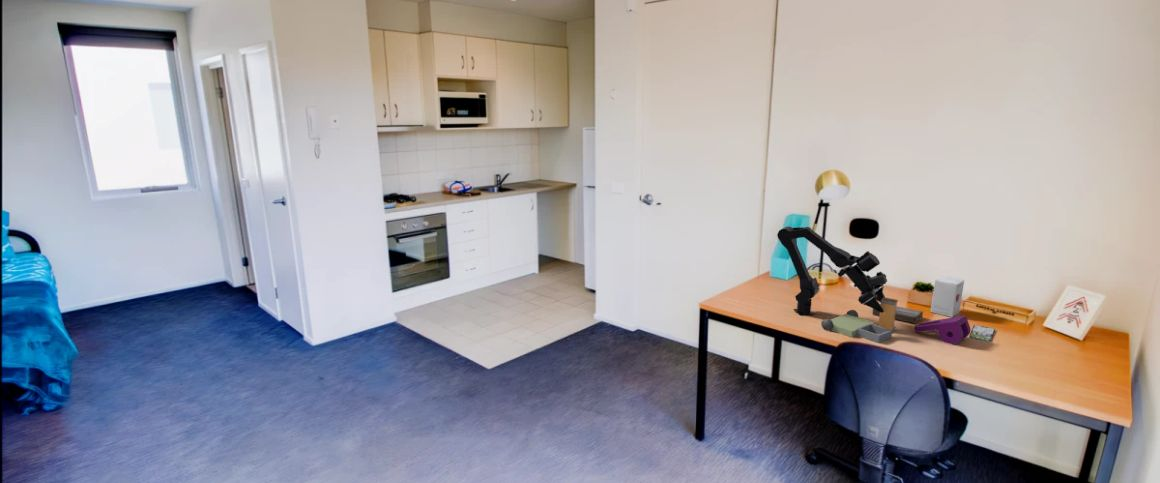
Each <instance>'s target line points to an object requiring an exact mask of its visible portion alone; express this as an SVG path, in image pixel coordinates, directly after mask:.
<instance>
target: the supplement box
mask: <svg viewBox="0 0 1160 483" xmlns="http://www.w3.org/2000/svg"><path fill="white" fill-rule="evenodd" d="M964 285H965V280H964V279H960V278H955V277H950V276H945V275H942V276H940V277H938V278H937V279H935V280H934V287H933V293H932V300H931V306H930V313H934V314H937V315H941V316H945V317H948V318H953V317H956V315H958V314H959V313H960V310H961V304H962V298H963V291H964Z"/></svg>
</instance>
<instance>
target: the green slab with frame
mask: <svg viewBox="0 0 1160 483" xmlns="http://www.w3.org/2000/svg"><path fill="white" fill-rule="evenodd" d="M820 324H821V328H822V329H823V330H824V331H831V332H835V333H837V334H841V335H843V336H846V337H848V338H853V337H856V336H857V337H860V338H863V339H866V340H868V341H870V342H875V343H877V344H879V343H882V342H884V341H886V340H889V339H891V338H892V334H893V333H892V330H889V329H886V328H883V327H880V326H878V325H877V324H876V322H874V321H871V320H869V319H865V318H861V317H859V313H858V312H857V310H855V309H851V310H850V309H849V310H848V311H846V313H845V314H842V315H840V316H837V317H834V318H831V319H830V318H825V319H822V320H821V322H820Z"/></svg>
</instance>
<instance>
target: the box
mask: <svg viewBox="0 0 1160 483" xmlns="http://www.w3.org/2000/svg"><path fill="white" fill-rule="evenodd" d="M879 304H880V305H881V303H879ZM923 313H924V312H923V311H922V310H919V309H918V310H917V309H912V308H907V307H901V306H897V307H896V314H895V320H898V321H903V322H909V323H914V324H918V322H919V321H920V320H922V319H923ZM872 315H873V316H877V317H879V315H880V312H879V311H877V310H875V309H873V308H872Z"/></svg>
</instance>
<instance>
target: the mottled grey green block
mask: <svg viewBox="0 0 1160 483" xmlns="http://www.w3.org/2000/svg"><path fill="white" fill-rule="evenodd" d="M995 330H996V329H995V328H993V327H988V326H983V325H978V324H973V326H972V328H971V330H970V334H969V335H968V338H969V339H973V340H977V341H980V342H981V341H982V342H987V343H991V342H992V339H993V337H994V334H995Z"/></svg>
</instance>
